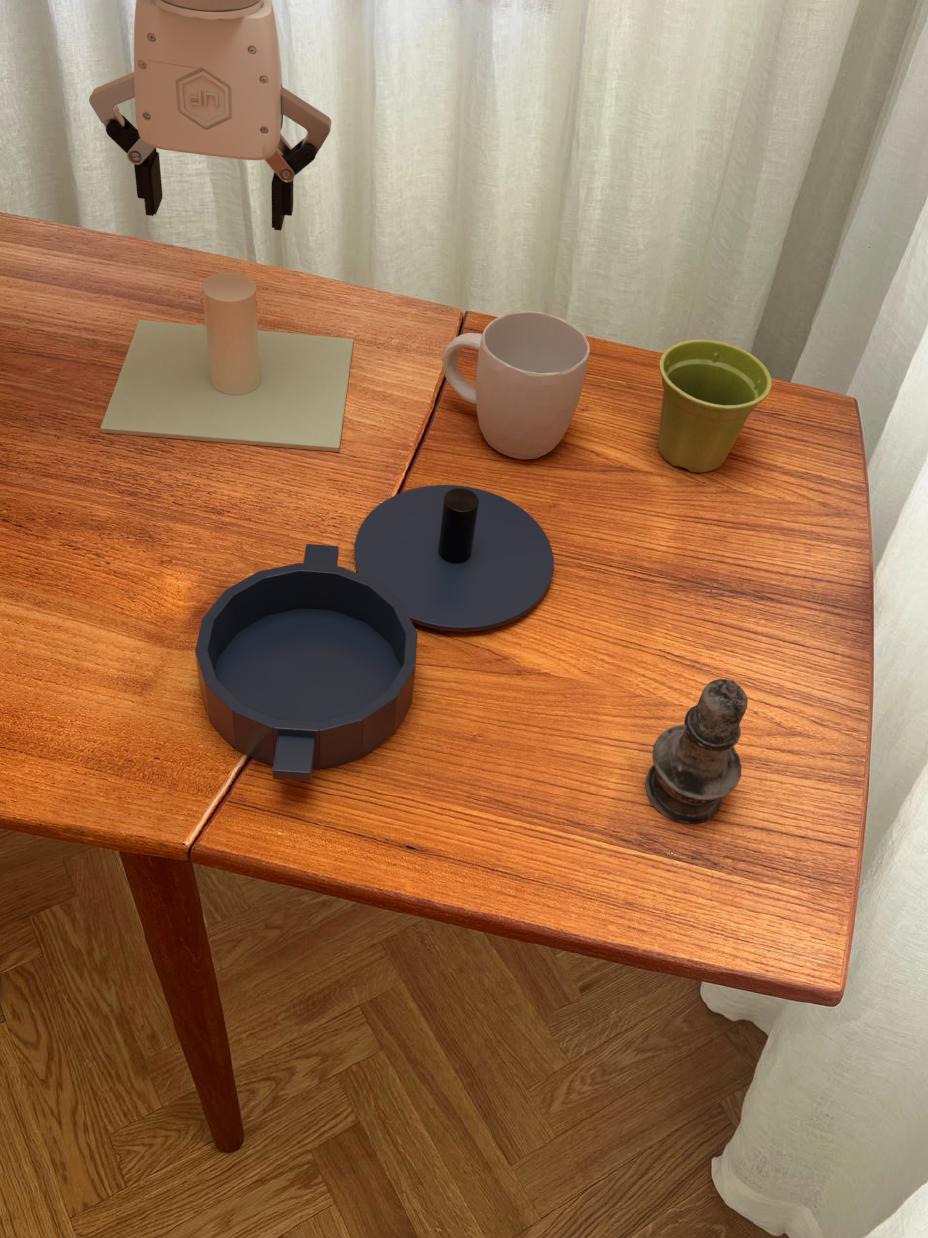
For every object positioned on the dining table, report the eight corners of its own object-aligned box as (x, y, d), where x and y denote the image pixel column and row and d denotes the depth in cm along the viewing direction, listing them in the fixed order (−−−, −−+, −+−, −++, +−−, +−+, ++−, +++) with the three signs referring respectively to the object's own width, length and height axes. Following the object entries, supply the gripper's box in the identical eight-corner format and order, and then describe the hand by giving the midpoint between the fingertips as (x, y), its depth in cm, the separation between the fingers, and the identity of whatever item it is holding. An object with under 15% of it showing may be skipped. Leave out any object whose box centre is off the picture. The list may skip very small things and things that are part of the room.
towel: (100, 432, 93) (99, 428, 93) (139, 323, 104) (139, 319, 104) (339, 452, 95) (339, 447, 94) (353, 342, 105) (353, 338, 105)
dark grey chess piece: (711, 750, 78) (762, 640, 69) (738, 823, 74) (796, 716, 65) (630, 758, 77) (672, 646, 68) (654, 832, 73) (701, 725, 64)
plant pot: (673, 496, 95) (698, 416, 89) (619, 429, 101) (640, 348, 94) (762, 474, 98) (793, 394, 92) (705, 410, 104) (731, 331, 97)
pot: (177, 797, 71) (170, 758, 68) (225, 572, 84) (221, 529, 81) (405, 811, 72) (410, 773, 69) (417, 586, 85) (421, 545, 82)
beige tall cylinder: (206, 393, 97) (197, 298, 90) (214, 363, 100) (206, 269, 93) (257, 397, 98) (252, 303, 91) (263, 367, 101) (259, 274, 94)
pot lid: (346, 629, 82) (347, 567, 77) (361, 487, 92) (363, 424, 87) (555, 644, 83) (570, 583, 78) (547, 502, 93) (560, 440, 88)
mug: (586, 429, 100) (608, 335, 93) (542, 484, 95) (560, 388, 87) (464, 378, 103) (475, 282, 96) (414, 427, 98) (422, 330, 90)
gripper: (58, -23, 71) (93, 225, 84) (330, 13, 72) (323, 251, 85) (86, -61, 76) (114, 178, 89) (339, -28, 78) (332, 203, 90)
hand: (216, 214), depth 87 cm, fingers open, 9 cm apart
